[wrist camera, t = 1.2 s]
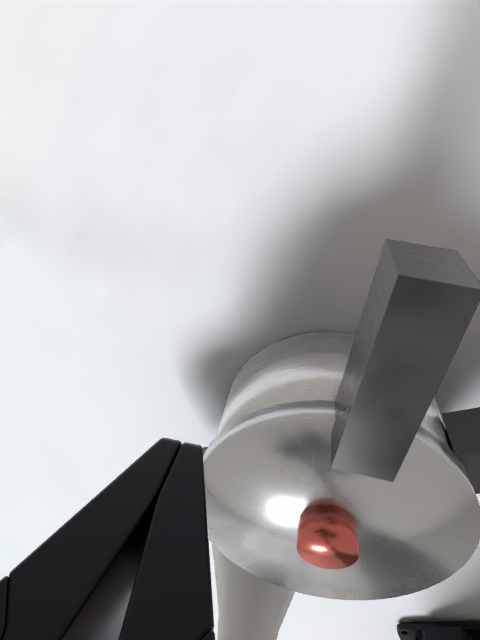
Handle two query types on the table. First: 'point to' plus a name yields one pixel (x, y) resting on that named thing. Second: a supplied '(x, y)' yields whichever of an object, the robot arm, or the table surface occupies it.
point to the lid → (358, 453)
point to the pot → (332, 390)
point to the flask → (247, 603)
